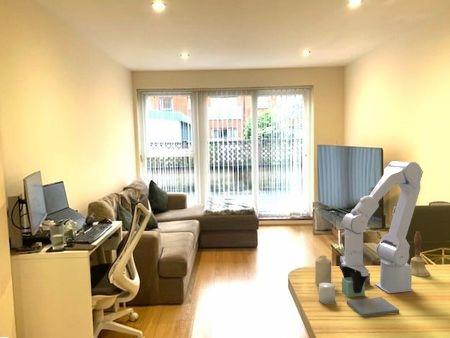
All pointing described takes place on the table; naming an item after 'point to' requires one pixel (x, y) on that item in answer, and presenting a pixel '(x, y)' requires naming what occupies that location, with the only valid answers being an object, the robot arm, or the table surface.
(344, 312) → the table surface
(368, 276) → the walnut block
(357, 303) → the slate board
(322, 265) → the candle
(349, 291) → the teal brick
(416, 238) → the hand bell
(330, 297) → the grey cylinder
